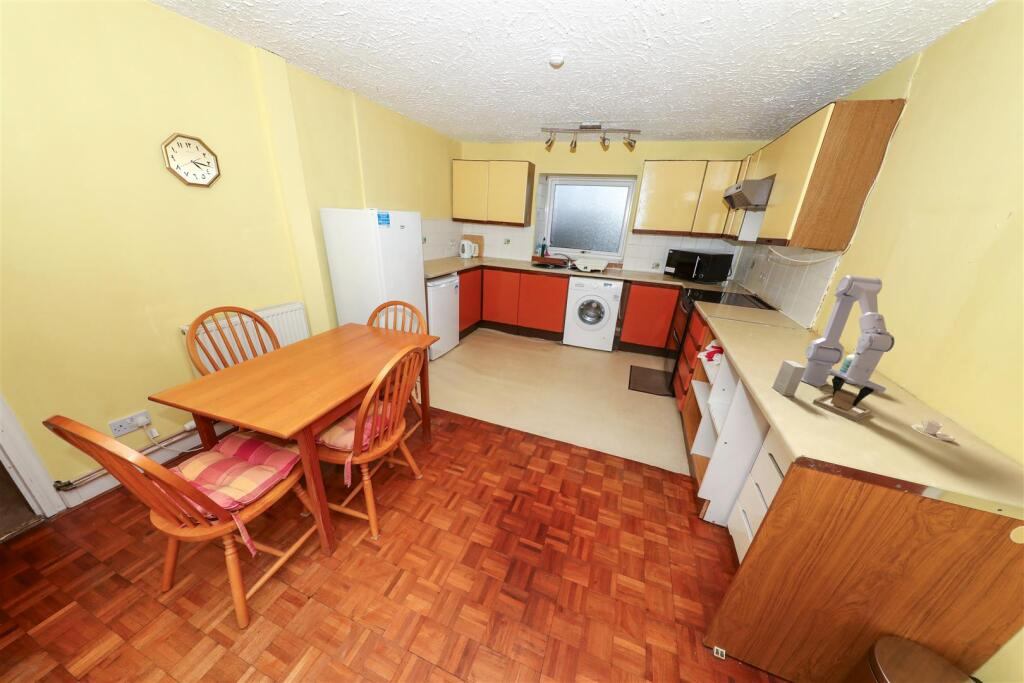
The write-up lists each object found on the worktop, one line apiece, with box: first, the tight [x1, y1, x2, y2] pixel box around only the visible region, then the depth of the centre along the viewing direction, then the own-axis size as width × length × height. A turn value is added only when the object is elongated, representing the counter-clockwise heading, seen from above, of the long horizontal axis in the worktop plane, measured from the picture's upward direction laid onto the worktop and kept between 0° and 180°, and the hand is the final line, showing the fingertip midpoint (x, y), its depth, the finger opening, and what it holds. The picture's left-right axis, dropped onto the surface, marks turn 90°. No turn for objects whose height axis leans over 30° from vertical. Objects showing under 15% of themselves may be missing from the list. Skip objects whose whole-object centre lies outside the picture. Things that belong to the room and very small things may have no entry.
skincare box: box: [771, 359, 806, 397], centre depth 123 cm, size 6×4×12 cm
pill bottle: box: [838, 349, 857, 385], centre depth 136 cm, size 8×7×14 cm
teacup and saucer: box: [910, 419, 956, 442], centre depth 105 cm, size 9×8×4 cm
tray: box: [812, 393, 872, 422], centre depth 116 cm, size 12×12×2 cm
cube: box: [830, 387, 859, 410], centre depth 115 cm, size 5×5×5 cm
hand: (844, 401), depth 115 cm, fingers closed on cube, 5 cm apart
